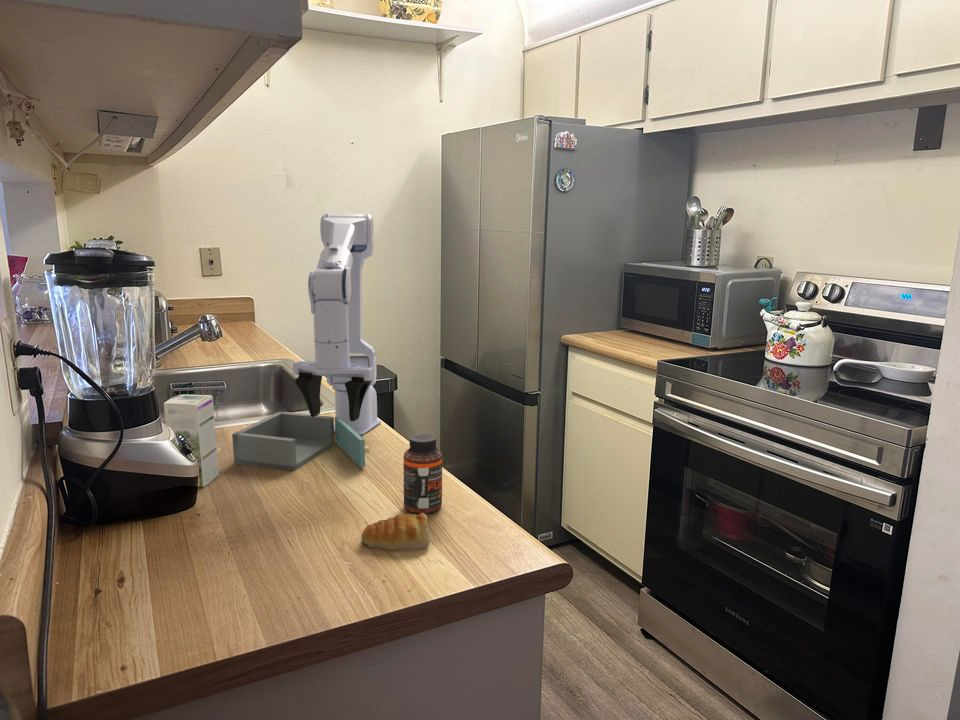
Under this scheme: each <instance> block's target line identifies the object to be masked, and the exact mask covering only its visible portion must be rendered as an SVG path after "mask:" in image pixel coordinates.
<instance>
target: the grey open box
mask: <svg viewBox="0 0 960 720" xmlns="http://www.w3.org/2000/svg"><path fill="white" fill-rule="evenodd" d="M334 425H335V416H327V415H320V414H318V415H317V416H315V417H311V416H310V413H308V414H307V413H301V412H300V413H297V412H289V411H277V412H275V413H273V414H271V415H269V416H267V417H265V418H263V419H260V420H258V421H257V422H255V423H253V424H251V425H249V426H247V427H244V428H243V429H240V430H238V431H237V432H233V433H232V435H231V436H232V450H233V451H232V453H233V464H236V465H244V466H251V467H260V468H267V469H276V470H282V471H291V472H294V471H296V470H297V469H298V468H300V467H302V466H303V465H305V464H306V463H308V462H310V461H311V460H312V459H314V458H316V457H317V456H319V455H320V454H322V453H323V452H325V451H326V450H327V449H329V448H331V447H332V446H334V445H335V444H336V438H335V432H334Z"/></svg>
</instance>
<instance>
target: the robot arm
mask: <svg viewBox="0 0 960 720" xmlns="http://www.w3.org/2000/svg"><path fill="white" fill-rule="evenodd" d="M319 227H320V228H319V229H320V231H319V232H320V240H321V243H322V244H323V247H324V248H323V249H322V250H321V253H320V255H319V260H318V263H317V266H316V268H314V271H313V272H311V271H310V272H309V274H308V278H307V291H308V296H309V297H308V298H309V301H310V312H311V314H313V333H314V334H313V335H314V338H313V339H314V353H315V354H314V356H315V357H314V359H315V361H302V360H299V361H296V362H293V363H292V374H293V375H295V376H296V375H298V376H297V377H296V378H295V381H294V382H295V384H296V386H297V388H298V389H299V390H300V392H301V394H302V396H303V398H304V401H305V403H306V405H307V408H308V411H309V412H308V413H309V415H310V416H311V417H315V416H317V415H320V414H321V385H322V378H323V377H326V383H327V384H328V386H330V387H332V390H334V408H335V409H334V411H335V417H337V416H338V417H339V418H341V419H342V420H343V421H344V422H345V423H346V424H347V425H349V426H350V427H351V428H352V429H353V430H354V431H355V432H357V433H358V434H359V435H360V436H363V435H365V434H366V433H368V432H369V431H371V430H372V429H373V428H375V427H376V426H378V425H379V424H381V423H382V420H381V419H378V400H377V398H378V397H377V391H376V389H375V387H374V385H375V384H376V382H377V358H376V357H377V356H376V351H375V348H374V347H373V346H372V345H370V344H369V343H368V342H367V341H365V340H364V339H363V304H362V303H363V288H362V287H363V282H362V281H363V280H362V279H363V278H362V277H363V274H362V273H363V272H362V270H363V267H364V262H365V260H367V259H368V258H371V257H372V256H373V252H374V219H373V216H372V215H371V214H370V213H365V214H363V213H361V214H360V213H358V214H357V213H356V214H355V213H327V212H325V213H323V215H321V217H320V224H319ZM351 354H361V355H351ZM334 433H335V424H334Z"/></svg>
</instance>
